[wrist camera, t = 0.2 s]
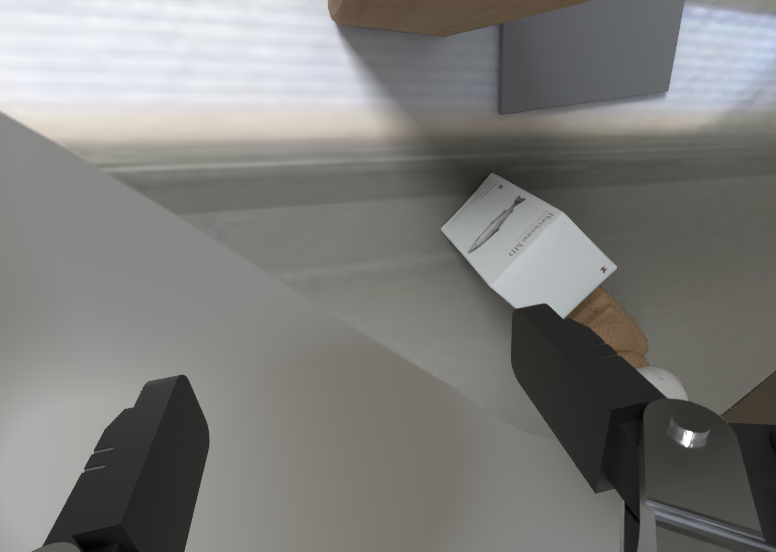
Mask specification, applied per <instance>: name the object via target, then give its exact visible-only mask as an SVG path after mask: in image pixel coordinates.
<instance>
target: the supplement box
mask: <svg viewBox="0 0 776 552" xmlns="http://www.w3.org/2000/svg"><path fill="white" fill-rule="evenodd" d="M441 231H442V232H443V233H444V234H445V236H446V237H447V238H448V239H449V240H450V241H451V242H452V243H453V245H454V246H455V247H456V248H457V249H458V250H459V251H460V252H461V253H462V255H463V256H464V257H465V258H466V259H467V261H468V262H469V263H470V264H471V265H472V267H473V268H474V269H475V270H476V271H477V272H478V274H479V275H480V276H481V277H482V278H483V279H484V281H485V282H486V283H487V284H488V285H489V286H490V287H491V288H492V289H493V290H494V291H495V292H496V293H498V294H499V295H500V296H501V297H502V298H503V299H505V300H506V301H507V302H508V303H509V304H510V305H511V306H512V307H514V308H515V309H517V308H522V307H527V306H532V305H537V304H542V303H546V304H548V305H549V306H550V307H551V308H552V309H553V310H554V311H555V312H556V313H557V314H558V315H559V316H561V317H562V318H563V319H564V318H565V317H566V316H567V315H568V314H569V313H570V312H571V311H572V310H573V309H574V308H575V307H577V306H578V305H579V304H580V303H581V302H582V301H583V300H584V299H585V298H586V297H587V296H588V295H589V294H590V293H591V292H592V291H593V290H595V289H596V288H597V287H598V286H599V285H600V284H601V283H602V282H603V281H604V280H605V279H606V278H607V277H608V276H609V275H610V274H612V273H613V272H614V271H615V270H616V269H617V266H616V265H615V264H614V263H613V262H612V261H611V260H610V259H609V258H608V257H607V256H606V255H605V254H604V253H603V252H602V251H601V250H600V249H599V248H598V247H597V246H596V245H595V244H594V243H593V242H592V241H591V240H590V239H589V238H588V237H587V236H586V235H585V234H584V233H583V232H582V231H581V230H580V229H579V228H578V227H577V226H576V225H575V224H574V223H573V222H572V221H571V219H570V218H569V217H568V216H567V215H566V214H565V213H563V212H562V211H560V210H559V209H557V208H555V207H553V206H551V205H550V204H548V203H546V202H544V201H543V200H541V199H539V198H537V197H536V196H534V195H532V194H530V193H528V192H527V191H525V190H523V189H521V188H519V187H517V186H516V185H514V184H512V183H510V182H509V181H507V180H505V179H503V178H501V177H500V176H498V175H496V174H494V173H493V172H492V173H491V174H490V175H489V176H488V177H487V178H486V180H485V181H484V182H483V183H482V184H481V186H480V187H479V188H478V189H477V190H476V191H475V193H474V194H473V195H472V196H471V197H470V198H469V199H468V200H467V201H466V203H465V204H464V205H463V206H462V207H461V208H460V209H459V210H458V211H457V212H456V213H455V214H454V215H453V216H452V217H451V219H450V220H449V221H448V222H447V223H446V224H445V225H444V226H443V227H442V228H441Z"/></svg>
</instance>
